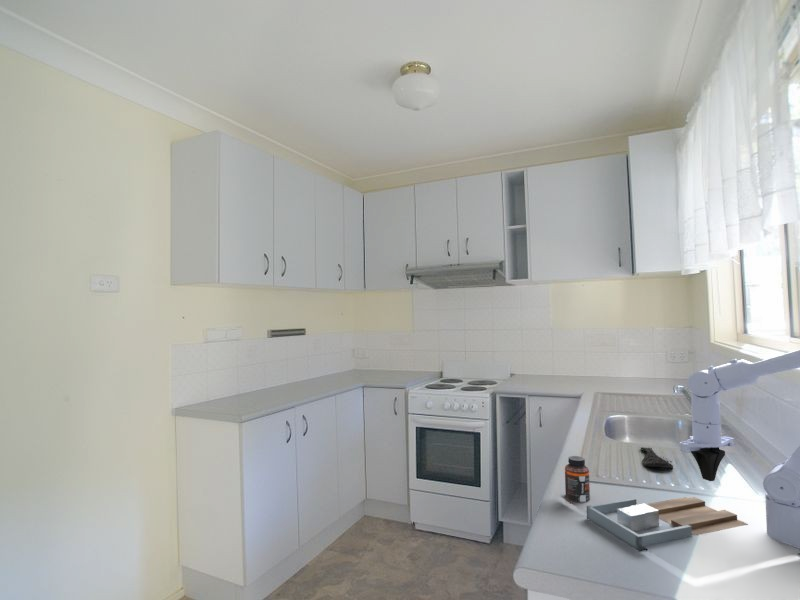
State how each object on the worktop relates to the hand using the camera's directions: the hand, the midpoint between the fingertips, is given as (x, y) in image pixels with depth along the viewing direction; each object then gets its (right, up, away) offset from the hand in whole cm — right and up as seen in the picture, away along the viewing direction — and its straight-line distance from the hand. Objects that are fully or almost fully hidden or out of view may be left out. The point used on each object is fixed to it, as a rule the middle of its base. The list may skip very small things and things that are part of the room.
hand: (708, 479), depth 108 cm
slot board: (-4, -10, +1) cm, 10 cm away
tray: (-19, -10, -4) cm, 22 cm away
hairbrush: (+11, -11, +43) cm, 46 cm away
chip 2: (-17, -9, -3) cm, 19 cm away
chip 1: (-20, -9, -5) cm, 23 cm away
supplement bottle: (-26, -11, +12) cm, 31 cm away
